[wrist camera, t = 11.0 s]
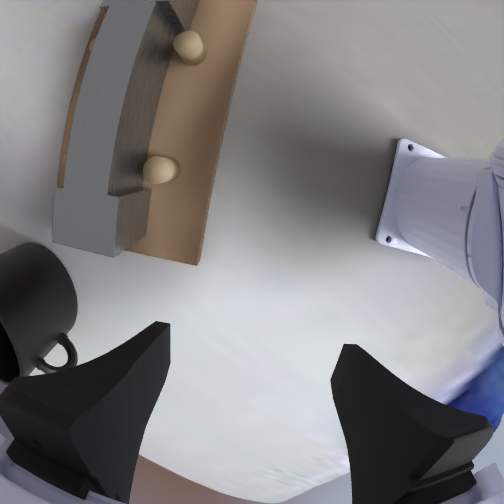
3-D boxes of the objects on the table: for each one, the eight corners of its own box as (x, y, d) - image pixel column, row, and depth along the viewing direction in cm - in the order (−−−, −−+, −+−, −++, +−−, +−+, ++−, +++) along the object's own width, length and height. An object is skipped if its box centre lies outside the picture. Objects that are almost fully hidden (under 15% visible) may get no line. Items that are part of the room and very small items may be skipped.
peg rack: (256, 2, 15) (257, -24, 11) (199, 260, 20) (189, 279, 17) (113, 2, 14) (95, -17, 11) (63, 230, 20) (37, 241, 16)
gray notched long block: (143, 2, 13) (118, -30, 9) (199, 1, 14) (185, -38, 9) (92, 224, 18) (52, 242, 14) (146, 235, 19) (114, 257, 14)
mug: (82, 364, 24) (40, 423, 15) (4, 289, 22) (-49, 327, 13) (116, 308, 22) (62, 374, 13) (25, 220, 20) (-47, 249, 11)
